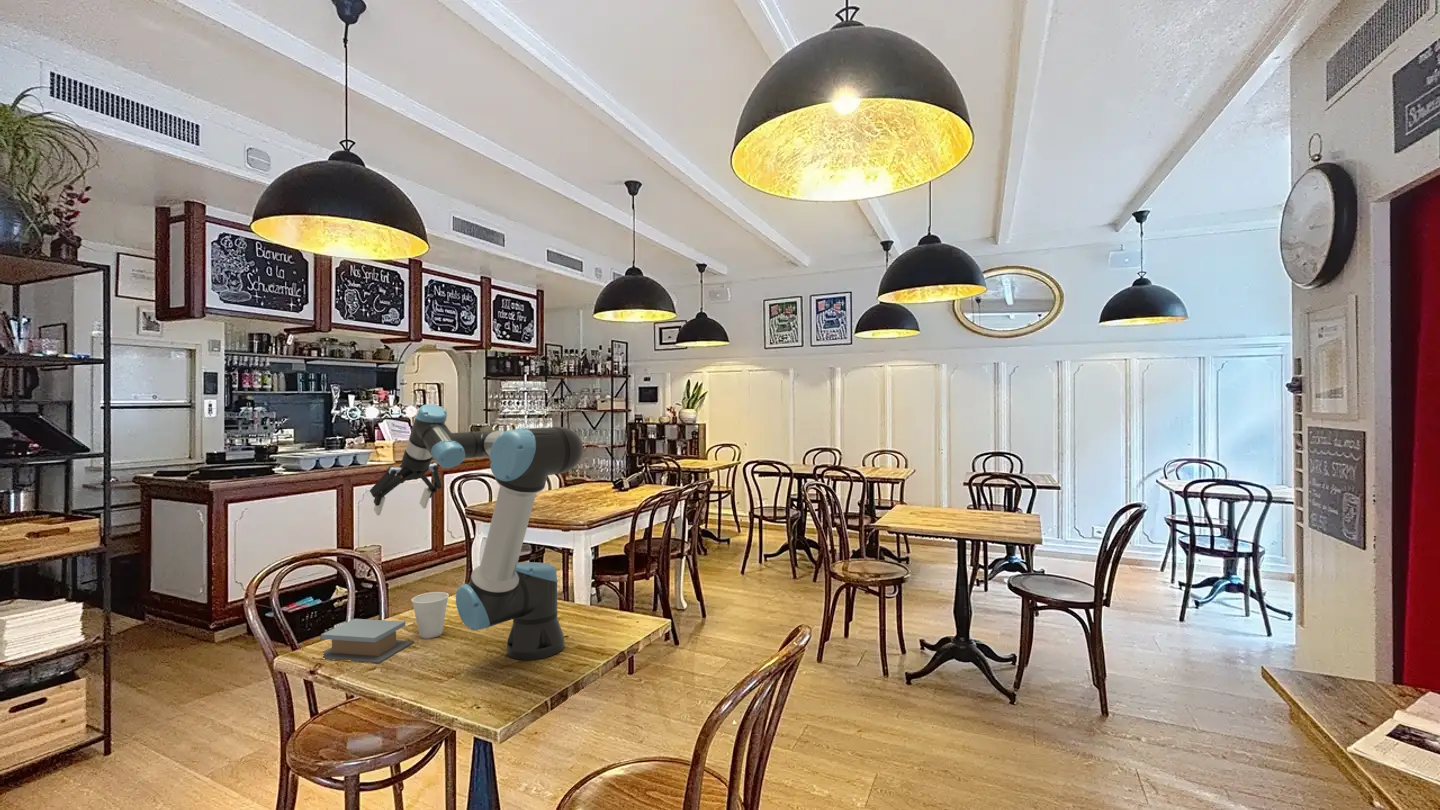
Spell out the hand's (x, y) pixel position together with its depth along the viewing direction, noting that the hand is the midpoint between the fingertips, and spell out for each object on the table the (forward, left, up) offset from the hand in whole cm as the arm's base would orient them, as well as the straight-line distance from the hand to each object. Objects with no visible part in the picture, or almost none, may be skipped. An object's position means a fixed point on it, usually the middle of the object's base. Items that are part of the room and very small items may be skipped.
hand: (400, 509), depth 190 cm
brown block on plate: (-2, +19, -35) cm, 40 cm away
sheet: (-2, +19, -30) cm, 36 cm away
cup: (-13, +6, -35) cm, 38 cm away
